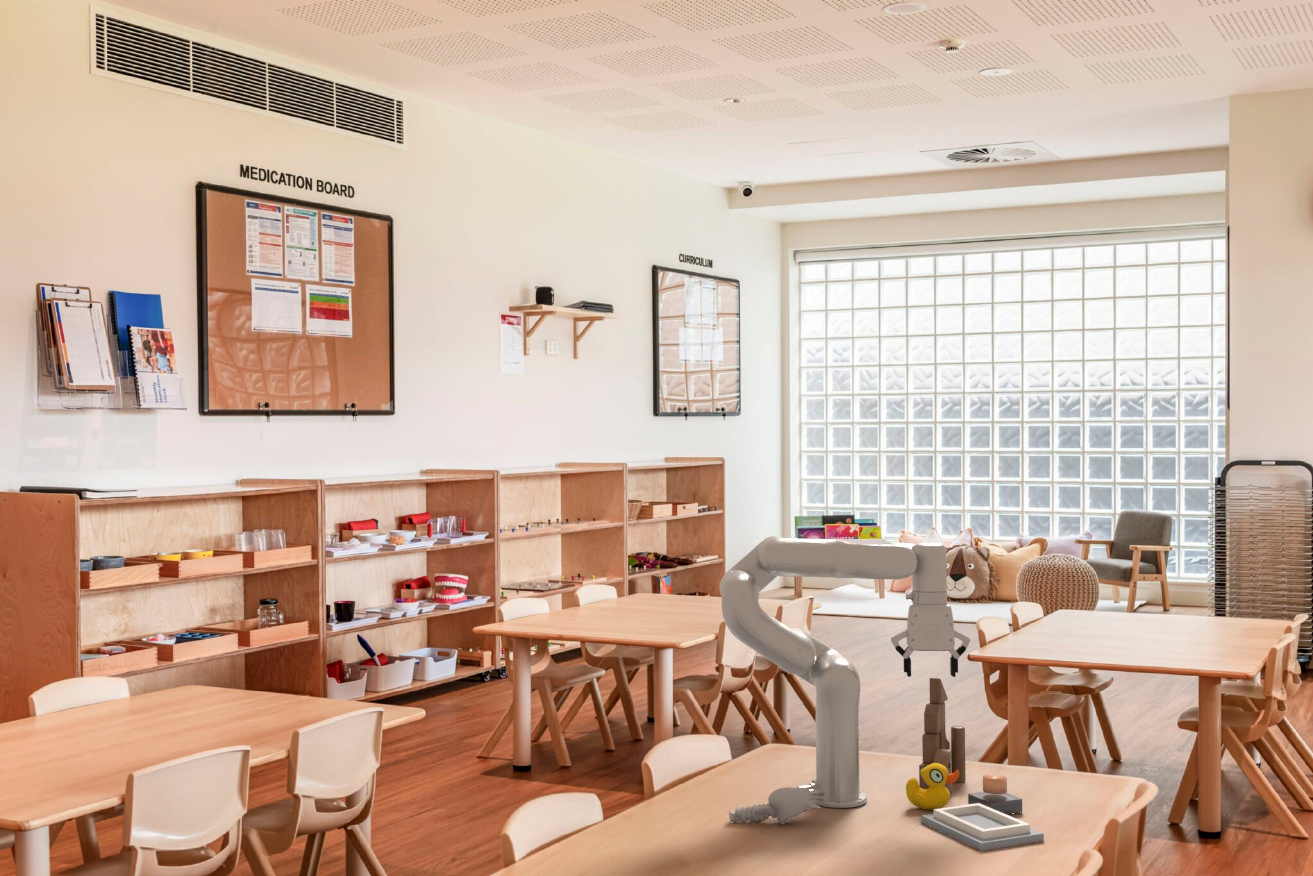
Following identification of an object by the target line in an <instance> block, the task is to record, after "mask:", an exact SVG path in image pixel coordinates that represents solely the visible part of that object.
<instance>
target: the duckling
mask: <svg viewBox="0 0 1313 876" xmlns="http://www.w3.org/2000/svg"><path fill="white" fill-rule="evenodd" d="M920 773H921V776H922V778H923V779H924V781H925V783H926V784H927V785H928V786H930V787H929V788H928V789H922V788H920V786H919V780H918V778H916V777H911V778H909V779H908V780H907V782H906V784H905V790H906V791H905V792H906V797H907V800H908V801H909V803H911V804H912V805H913V806H915V807H917V808H918V809H922V810H927V811H934V809H940V808H945V806H947V805H948V803H949V802H950V800H951V799H950V798H951V794H950V792H949V790H948V789H947V788H946V787H945V786H944V785H945V784H946V783H951V784H953V783H955V782H956V781H957V779H958V778H959V775H960V774H959V771H958V770H956V771H955V772H954V773H951V774H948V770H947V768H946V767H945V766H943V765H942V764H939V763H932V764H930V765H928V766H927V767H925V768H923V769H921V771H920Z"/></svg>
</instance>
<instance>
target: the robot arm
mask: <svg viewBox="0 0 1313 876" xmlns="http://www.w3.org/2000/svg"><path fill="white" fill-rule="evenodd" d="M947 575H948V574H947V549H946V546H945V545H944V544H943V543H940V542H918V543H905V542H899V541H898V542H897V541H890V542H888V541H887V542H885V543H883V544H863V543H854V542H849V541H845V540H842V539H832V538H793V537H792V538H791V537H790V538H788V537H787V538H786V537H782V536H777V535H774V536H773V535H772V536H769V537H766V538H764V539H763V540H761V541H760V542H759V543H758V544H757V545H756V546H755V547H754V548H753V549H751V550H750V552H748V553H747V554H746V555H744V556H743V557H742V558H741V559H740V560H739V561H738V562H737V563H736V564H734V565H733V566H732V567H731V568H730V569H729V570H727V571H726V573H724V574H723V576H722V578H721V579H720V582H719V587H718V588H719V593H720V596H721V613H722V619H723V621H724V623H725V625H726V627H727V629H728V630H729V632H730V633H731V635H732V636H733V637H734V638H736V639H737V640H738V641H740V642H741V643H743V644H744V645H745V646H747V647H748V648H749V649H751V650H753V651H755V652H756V653H757V654H759V655H760V656H762V657H764V658H765V659H766V660H768V661H770V662H771V663H773V664H774V665H776V666H777V667H778V668H779V669H780V670H783V672H785V673H788V674H790V675H795V676H797V677H799V678H800V679H802V680H804V681H806V682H807V683H808V684H810V685H812V686H814V687H815V690H816V691H815V693H816V695H815V696H816V699H815V762H816V763H815V765H816V766H815V771H816V774H815V775H816V776H815V777H816V778H813V779H811V783H809V784H808V785H799V786H797V787H796V788H800V789H804V790H807V791H808V792H809V793H810V794H811V795H813V796H817V797H821V798H823V799H816V800H810V801H811V802H813V803H815V804H816V805H818V806H820V807H825V808H826V807H827V808H835V809H843V808H844V809H849V808H855V807H860V806H863V805H865V804H866V803H867V801H868V798H867V794H865V793H864V791H863V792H862V791H860V790H861V789H860V785H861V784H860V700H861V699H860V698H861V679H860V676H859V672H858V670H857V668H856V667H855V666H854V665H853V663H852V662H851V661H850V660H849V659H848V658H847V657H846V656H844V655H843V654H841V653H840V652H839V651H837V650H835V649H834V648H832V647H830V646H829V645H827V644H825V643H824V642H823V641H820V640H819V639H817V638H816V637H814V636H812V635H811V634H809V633H808V632H806V631H804V630H803V629H800V628H798V627H796V626H795V627H794V626H793V627H792V626H789V625H788V626H787V625H786V624H785V623H783V622H781V621H780V620H778V619H776V618H775V617H773V616H772V615H770V614H768V613H767V612H765V611H764V610H763V609H762V607H761V606H760V602H759V600H760V599H759V598H760V597H759V596H760V592H761V591H762V590H763V589H765V588H766V587H767V586H768V585H769V584H770V583H772V581H774V580H775V579H776V578H777V577H788V578H789V577H793V578H796V577H797V578H799V577H801V578H802V577H803V578H804V577H805V578H809V577H810V578H830V579H831V578H832V579H833V578H834V579H835V578H836V579H864V580H865V579H867V580H905V579H907V578H909V577H911V587H912V589H911V592H909V593H905V600H909V601H911V602H912V603H910V604H909V607H908V611H907V612H908V613H907V620H906V629H905V630H902V631H901V632H899V633H897V634H895V635H893V636H892V637H890V641H891V643H892V645H893V647H894V649H895V650H896V652H897V653H899V654H900V656H902V657H903V673H906V676H907V677H909V678H911V677H912V660H911V657H910V656H911V655H912V654H913V653H914V651H918V652H949V653H950V654H951V656H950V658H949V662H950V663H949V668H950V670H949V672H950V676H951V677H953V678H956V673H959V659H960V657H961V656H962V655H963V654H964V653H965V652H966V651H967V648H968V647H969V644H970V642H971V639H970V637H968V636H967V635H964V634H962V633H960V632H958V631H957V630H955V627H954V626H955V625H954V623H955V622H954V616H953V609H952V607H951V604H948V584H947V583H948V581H947V579H948V578H947ZM955 638H956V639H957V640H960V641H961V643H960V646H958V648H957V649H955V642H956V641H955ZM903 639H906V643H907V646H906V647H905V649H904V648H903V647H902V646H901V645H900V641H901V640H903Z"/></svg>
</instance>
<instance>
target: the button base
mask: <svg viewBox="0 0 1313 876" xmlns="http://www.w3.org/2000/svg"><path fill="white" fill-rule="evenodd" d="M967 796H968V797H967V802H968V803H967V805H969V804H976V803H980V804H982V805H985V806H987V807H990V808H992V809H994V810H997V811H999V812H1001V813H1004V814H1006V815H1008V814H1012V813H1019V814H1021V813H1020V812H1022V813H1023V798H1021V797H1019V796H1015V795H1013V794H1011V793H1008V792H1007V793H1005V794H989V793H985V792H984V791H978V792H970V793H967ZM1012 815H1013V814H1012Z"/></svg>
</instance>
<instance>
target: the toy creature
mask: <svg viewBox="0 0 1313 876" xmlns="http://www.w3.org/2000/svg"><path fill="white" fill-rule="evenodd" d="M816 799H823V798H821V797H817V796H813V795H811V794H810V793H809V792H808V791H807V790H804V789H800V788H797V787H792V786H791V787H790V786H789V787H788V786H787V787H781V788H777V789H775V790H773V791H772V792H771V793H770V794H769V796H768V799H767V803H763V804H757V805H752V806H751V805H748V806H746V807H745V806H742V807H741V808H740V807H736V808H735V810H734V811H731V810H729V811H728V815H729V821H730V823H731V822H734V823H738V822H742V823H744V822H746V823H747V822H751V823H753V822H755V823H757V822H758V821H763V820H769V818H770V817H771V818H772V819H777V821H778V822H779V823H780V824H781V825H782V824H783V825H782V826H784V825H785V824H788V823H789V822H788V821H789V820H791V819H792V820H793V818H796V817H798V816H799V815H801V814H802V813H805V812H806V810H807V809H822V806H820V805H817V804H815V803H813V802H811V801H810V800H816ZM736 821H737V822H736Z"/></svg>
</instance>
